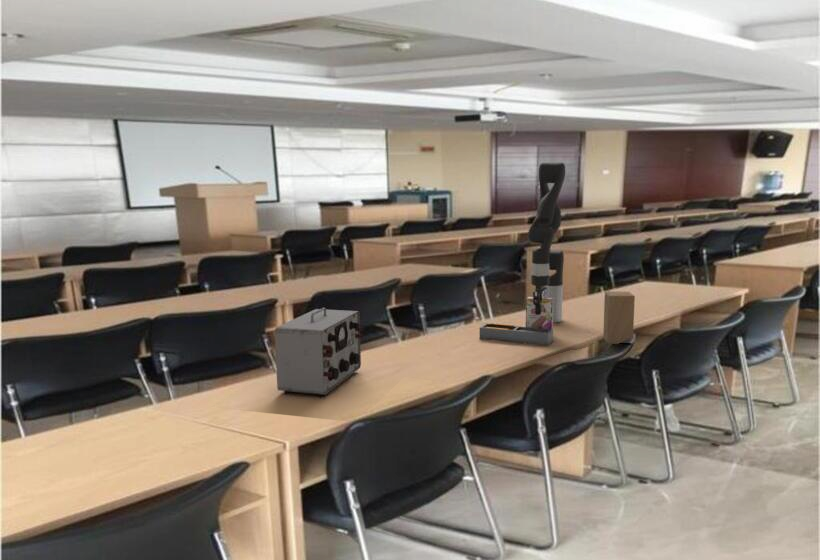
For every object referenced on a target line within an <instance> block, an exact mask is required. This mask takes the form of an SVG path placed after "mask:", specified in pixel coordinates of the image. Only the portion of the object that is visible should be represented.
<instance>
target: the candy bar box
mask: <svg viewBox="0 0 820 560" xmlns="http://www.w3.org/2000/svg"><path fill="white" fill-rule="evenodd" d="M537 302H538V300H537ZM525 310H526V311H525V327H533V328H544V329H553V330H554V322H553V310H554V298H543V300H542V301H541V314H540V315H536V314H535V305H534V304H533V296H527V297H526V302H525Z"/></svg>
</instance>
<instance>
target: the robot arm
mask: <svg viewBox="0 0 820 560" xmlns="http://www.w3.org/2000/svg"><path fill="white" fill-rule="evenodd" d="M538 167H539V168H538V184H539V186H538V187H539V195H540V196H539V203H538V206H537V211H536V215H535V217H534V220H533V222H532V224H531V225H530V227H529V229H528V232H527V239H528V241H529V242H530V243H531V244H540V245H539V247H540V248H535V249H533V250H532V252H531V271H530V273H531V274H530V276H531V277H530V284H531V285H532V286H535V289H534V291H533V292H532V297H533V304H534V305H535V314H536V315H540V314H541V301H542V300H543V298H554V310H553V323H560V322H562V319H563V315H562V314H563V288H564V287H563V281H564V278H563V277H564V275H563V272H564V264H565V263H564V260H565V257H564V256H565V255H564V252H563V250H559V249H557V250H556V249H554V250H553V249H551V247H552V244H553V241H554V237H555V235H556V233H557V232H558V231H559V229H560V228H561V225H562V224H561V223H562V220H561V219H562V211H561V207H560V206H559V204H558V203H557V201H558V199H559V196H560V193H561V190H562V188H563V185H564V181H565V176H566V165H565V164H564V162H562V161H541V162H540V163H539V166H538ZM549 184H553V186H552V187H551V189H549ZM550 271H555V272H554V273H553V274H551V275H550ZM537 300H538V302H537Z"/></svg>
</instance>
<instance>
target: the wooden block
mask: <svg viewBox="0 0 820 560" xmlns="http://www.w3.org/2000/svg"><path fill="white" fill-rule="evenodd" d="M603 305H604V306H603V308H604V309H603V310H604V311H603V334H602V337H603V339H604V341H605V342H606V343H607V344H608V345H620V344H619V343H621V342H623V341H625V340H627V339H629V338H632V339H633V340H634V326H635V325H634V323H635V322H634V321H635V295H634V294H633V293H631V292H630V291H604V304H603Z"/></svg>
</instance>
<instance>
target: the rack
mask: <svg viewBox="0 0 820 560" xmlns="http://www.w3.org/2000/svg"><path fill="white" fill-rule="evenodd" d="M483 339H485V340H484V341H493V340H494V341H495V342H505V343H512V344H513V343H514V344H523V343H526V344H525V345H533V344H534V346H543V345H544V346H546V347H548V346H550V344H552V342H554V328H553V329H544V328H533V327H526V326H522V325H521V326H520V325H515V324H505V323H494V322H491V323H485V324H483V325H481V326H480V327H479V340H483ZM544 346H543V347H544Z"/></svg>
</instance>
